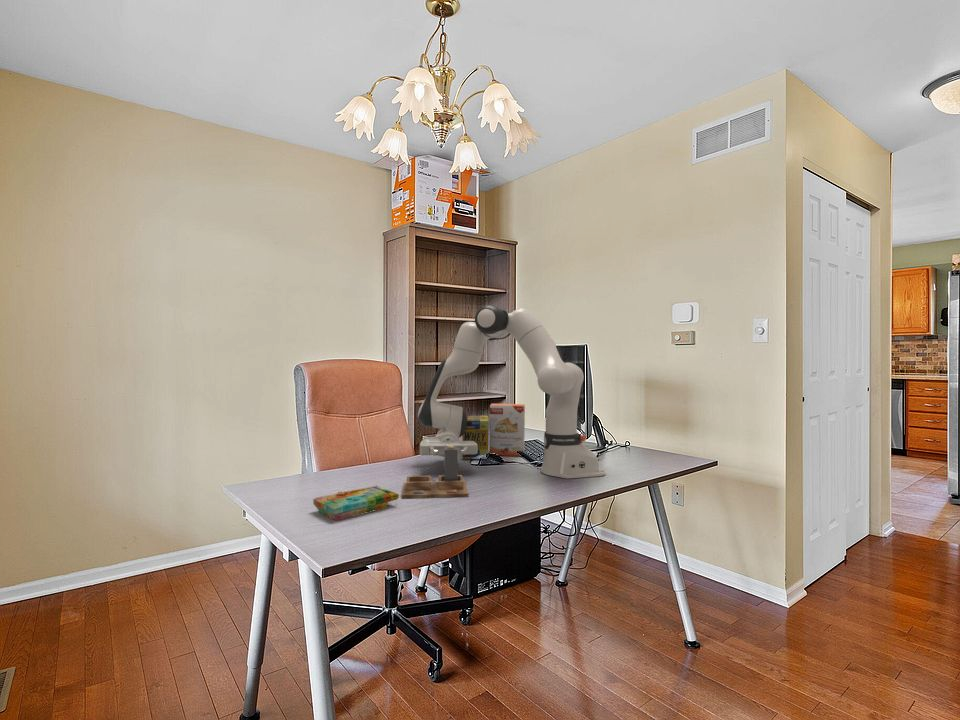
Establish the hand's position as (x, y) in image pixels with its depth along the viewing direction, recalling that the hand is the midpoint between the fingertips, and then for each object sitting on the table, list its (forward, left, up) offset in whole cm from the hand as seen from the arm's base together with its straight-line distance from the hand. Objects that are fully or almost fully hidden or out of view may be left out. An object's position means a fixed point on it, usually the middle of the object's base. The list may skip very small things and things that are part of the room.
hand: (449, 452), depth 181 cm
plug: (0, +12, -8) cm, 14 cm away
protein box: (-12, -36, -9) cm, 40 cm away
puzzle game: (+27, +29, -10) cm, 41 cm away
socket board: (+5, +14, -9) cm, 17 cm away
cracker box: (-25, -36, -9) cm, 45 cm away
